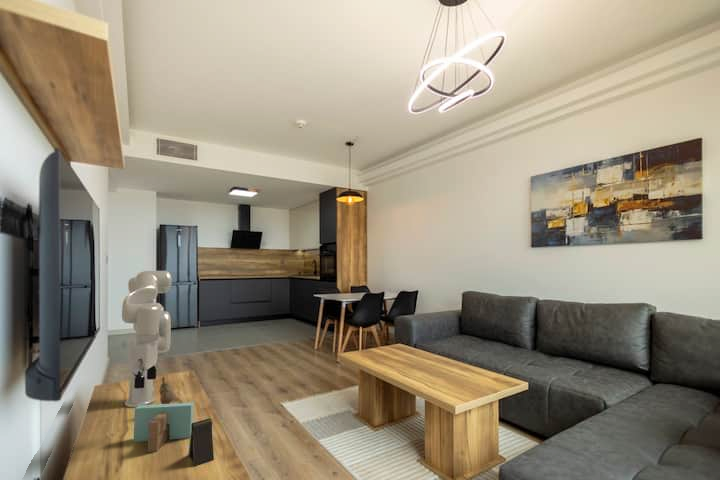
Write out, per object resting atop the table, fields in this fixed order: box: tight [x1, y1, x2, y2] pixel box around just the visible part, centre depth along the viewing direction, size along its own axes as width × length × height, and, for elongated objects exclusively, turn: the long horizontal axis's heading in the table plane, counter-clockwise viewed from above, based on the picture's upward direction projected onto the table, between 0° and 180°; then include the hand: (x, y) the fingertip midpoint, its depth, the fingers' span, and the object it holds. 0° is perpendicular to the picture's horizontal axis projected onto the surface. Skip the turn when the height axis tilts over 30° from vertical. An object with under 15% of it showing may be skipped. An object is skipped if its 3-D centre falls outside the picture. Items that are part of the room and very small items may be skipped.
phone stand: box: [187, 418, 215, 467], centre depth 118 cm, size 9×6×12 cm, turn 38°
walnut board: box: [147, 399, 181, 453], centre depth 131 cm, size 20×3×10 cm, turn 8°
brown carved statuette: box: [159, 376, 184, 404], centre depth 152 cm, size 12×6×18 cm, turn 123°
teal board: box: [133, 401, 195, 443], centre depth 131 cm, size 3×20×12 cm, turn 98°
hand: (145, 383), depth 132 cm, fingers open, 9 cm apart
